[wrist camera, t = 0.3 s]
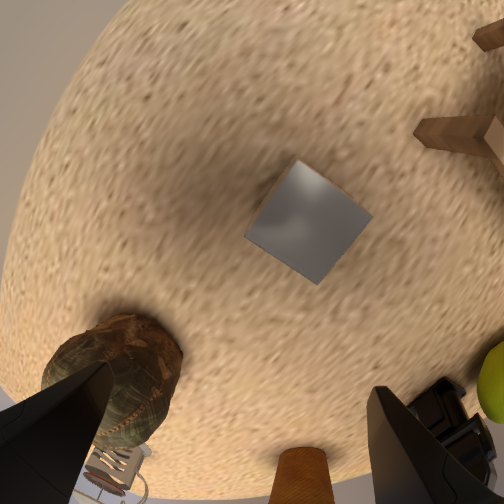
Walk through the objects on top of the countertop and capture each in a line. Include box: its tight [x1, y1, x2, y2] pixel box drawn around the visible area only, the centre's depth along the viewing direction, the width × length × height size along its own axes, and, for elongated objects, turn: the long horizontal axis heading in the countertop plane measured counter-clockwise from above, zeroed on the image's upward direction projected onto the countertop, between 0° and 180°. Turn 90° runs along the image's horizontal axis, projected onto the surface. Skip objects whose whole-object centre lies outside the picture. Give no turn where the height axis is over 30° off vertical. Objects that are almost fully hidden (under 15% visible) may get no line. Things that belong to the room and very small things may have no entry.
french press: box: [72, 443, 152, 504], centre depth 25 cm, size 10×12×25 cm
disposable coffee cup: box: [268, 447, 335, 504], centre depth 26 cm, size 10×10×12 cm
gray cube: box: [244, 155, 373, 285], centre depth 17 cm, size 5×5×5 cm
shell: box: [41, 313, 183, 451], centre depth 21 cm, size 11×11×12 cm
